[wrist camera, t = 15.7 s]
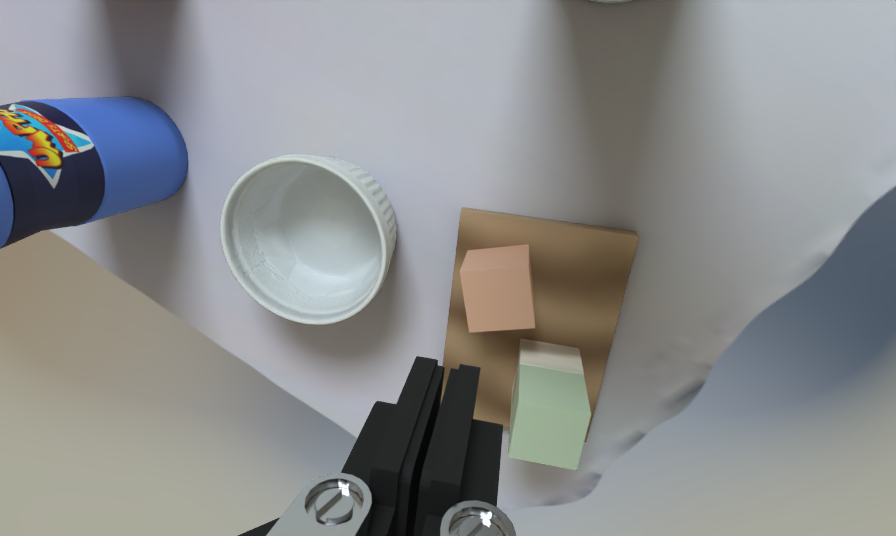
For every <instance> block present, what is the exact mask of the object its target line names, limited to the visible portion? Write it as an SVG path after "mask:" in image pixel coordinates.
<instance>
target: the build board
mask: <svg viewBox="0 0 896 536" xmlns="http://www.w3.org/2000/svg"><path fill="white" fill-rule="evenodd" d="M638 239H639V235H638V234H637V233H636V232H633V231H626V230H619V229H612V228H605V227H597V226H590V225H583V224H576V223H569V222H562V221H555V220H548V219H541V218H534V217H527V216H520V215H513V214H505V213H498V212H491V211H484V210H477V209H470V208H462V210H461V214H460V223H459V231H458V240H457V248H456V257H455V266H454V274H453V283H452V291H451V300H450V308H449V317H448V325H447V334H446V342H445V351H444V359H443V367H445V371H444V379H443V388H442V396H441V401H442V398H443V394H444V391H445V387H446V384H447V380H448V376H449V373H450V369H451V368H454V369H459V366H460V364H464V365H470V366H475V367H481V369H480V376H479V383H478V389H477V396H476V402H475V409H474V416H473V419H476V420H482V421H487V422H492V423H498V424H503V427H508V428H510V415H511V409H512V404H513V399H514V393H515V388H516V382H517V377H518V371H519V366H520V363H521V364H526V365H532V366H538V367H544V368H549V369H555V370H561V371H567V372H572V373H578V374H584V378H585V384H586V389H587V394H588V400H589V405H590V411H591V417H590V421H589V425H588V429H587V432H586V436H585V440H584V442H586V440H587V436H588V432H589V428H590V424H591V421H592V417H593V413H594V409H595V405H596V401H597V397H598V393H599V390H600V386H601V382H602V378H603V374H604V370H605V366H606V363H607V359H608V355H609V351H610V347H611V343H612V339H613V335H614V332H615V328H616V324H617V320H618V316H619V312H620V308H621V305H622V301H623V297H624V293H625V289H626V285H627V281H628V277H629V274H630V270H631V266H632V262H633V258H634V254H635V250H636V247H637V243H638ZM526 244H529V252H530V262H531V271H532V280H533V290H534V299H535V328H530V329H515V330H500V331H485V332H471V333H469V328H468V322H467V316H466V309H465V303H464V296H463V290H462V284H461V277H460V269H461V267H462V264H463V261H464V259H465V256H466V253H467V251H468V250H476V249H486V248H496V247H506V246H516V245H526ZM440 405H441V404H440Z"/></svg>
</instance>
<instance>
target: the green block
mask: <svg viewBox="0 0 896 536" xmlns="http://www.w3.org/2000/svg"><path fill="white" fill-rule="evenodd" d="M590 417H591V411H590V405H589V400H588V394H587V389H586V384H585V378H584V374H578V373H572V372H567V371H561V370H555V369H549V368H544V367H538V366H532V365H526V364H521V363H520V366H519V371H518V377H517V382H516V388H515V393H514V399H513V404H512V409H511V415H510V432H509V449H508V457H509V458H514V459H520V460H525V461H530V462H535V463H540V464H545V465H550V466H555V467H561V468H566V469H571V470H576V471H577V467H578V464H579V460H580V456H581V452H582V448H583V444H584V440H585V436H586V432H587V429H588V425H589V421H590Z"/></svg>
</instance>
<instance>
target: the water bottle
mask: <svg viewBox="0 0 896 536" xmlns="http://www.w3.org/2000/svg"><path fill="white" fill-rule="evenodd" d="M187 169H188V154H187V150H186V145H185V142H184V140H183V137H182V135H181V133H180V131H179V129H178V128H177V126H176V124H175V123H174V122H173V121H172V119H171V118H170V117H169V116H168V115H167V114H166V113H165V112H164V111H163V110H162V109H160V108H159V107H158V106H156V105H154V104H153V103H151V102H149V101H146V100H144V99H141V98H136V97H102V98H68V99H42V100H25V101H20V102H17V103H12V104H6V105H1V106H0V249H1V248H3V247H5V246H8V245H10V244H12V243H15V242H17V241H19V240H22V239H24V238H26V237H28V236H30V235H33V234H35V233H37V232H40V231H42V230H49V229H56V228H62V227H69V226H78V225H82V224H85V223H89V222H92V221H95V220H99V219H102V218H105V217H109V216H112V215H115V214H119V213H122V212H125V211H128V210H131V209H135V208H138V207H141V206H144V205H147V204H151V203H154V202H157V201H160V200H164V199H167V198H168V197H170V196H172V195H174V194H175V193H176V192H177V191H178V190H179V189H180V187H181V186H182V184H183V183H184V180H185V177H186V174H187Z"/></svg>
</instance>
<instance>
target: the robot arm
mask: <svg viewBox="0 0 896 536" xmlns="http://www.w3.org/2000/svg"><path fill="white" fill-rule="evenodd" d="M589 1H595V2H602V3H621V2H628V1H632V0H589ZM480 369H481V367H475V366H470V365H464V364H460V366H459V369H454V368H451V369H450V373H449V376H448V380H447V384H446V387H445V391H444V394H443V398H442V401H441V396H442V388H443V379H444V371H445V367H443V366H438V360H436V359H430V358H424V357H419V356H417V357H416V359H415V361H414V364H413V366H412V368H411V371H410V373H409V375H408V378H407V380H406V383H405V385H404V387H403V390H402V392H401V395H400V397H399V399H398V402H397V404H391V403H386V402H380V401H377V402H376V403H375V404H374V406H373V408H372V410H371V412H370V414H369V416H368V418H367V420H366V422H365V424H364V426H363V428H362V430H361V432H360V434H359V437H358V439H357V441H356V443H355V445H354V447H353V449H352V451H351V453H350V455H349V457H348V459H347V461H346V463H345V465H344V467H343V469H342V472H341V473H330V474H327V475H323V476H320V477H318V478H316V479H314V480H312V481H311V482H309V483H308V484H307V485H306V486H305V487H304V488H303V489H302V491H301V492H300V493H299V494H298V495H297V497H296V498H295V499H294V501H293V502H292V503H291V504H290V506H289V507H288V508H287V510H286V511H285V512H284V514H283V515H282V516H281V517H280V518H278V519H275V520H273V521H271V522H268V523H266V524H264V525H261V526H259V527H257V528H254V529H252V530H250V531H247V532H245V533H243V534H240V535H238V536H516V533H515V530H514V527H513V524H512V522H511V521H510V520H509V518H508V517H507V515H506V514H505V513H503V512H502V511H501V510H500V509H499V508H497V495H498V482H499V469H500V457H501V444H502V432H503V424H498V423H492V422H487V421H482V420H476V419H473V416H474V409H475V402H476V396H477V389H478V383H479V376H480ZM440 404H441V405H440Z"/></svg>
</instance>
